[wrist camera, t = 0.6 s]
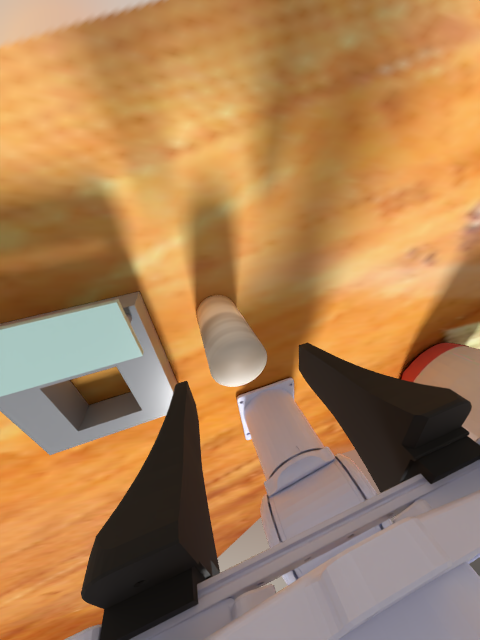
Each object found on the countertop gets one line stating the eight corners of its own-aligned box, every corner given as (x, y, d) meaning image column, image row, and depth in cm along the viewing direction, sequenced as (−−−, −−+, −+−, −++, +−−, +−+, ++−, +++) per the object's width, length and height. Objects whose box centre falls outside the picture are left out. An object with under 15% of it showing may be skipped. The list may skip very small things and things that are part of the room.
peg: (238, 325, 22) (269, 376, 16) (202, 335, 22) (216, 393, 15) (232, 290, 20) (264, 331, 14) (191, 300, 20) (203, 349, 13)
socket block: (179, 388, 24) (182, 437, 19) (63, 426, 22) (31, 492, 17) (132, 274, 17) (116, 302, 12) (-44, 312, 15) (-153, 366, 10)
